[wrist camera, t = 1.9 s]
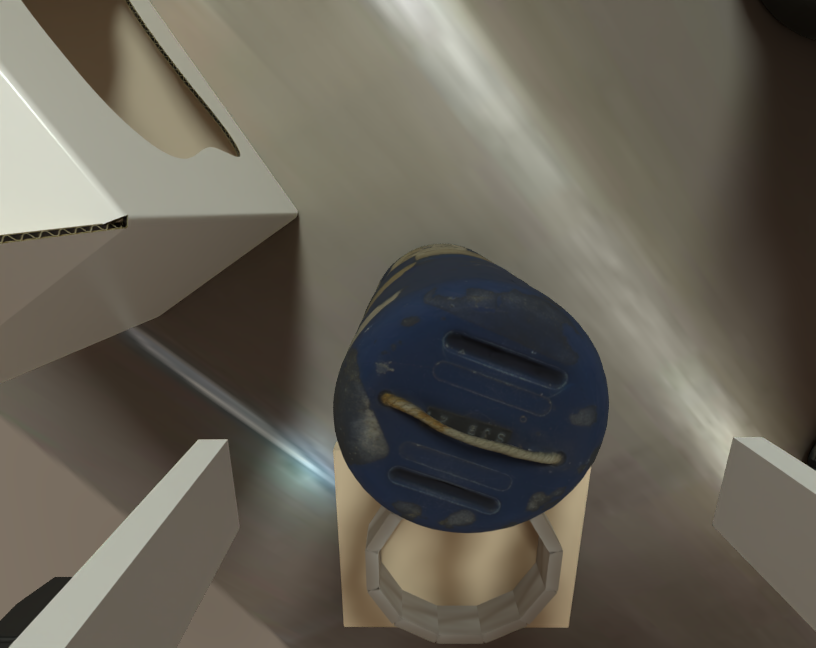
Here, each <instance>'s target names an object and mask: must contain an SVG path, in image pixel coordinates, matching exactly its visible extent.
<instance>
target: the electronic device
mask: <svg viewBox="0 0 816 648" xmlns="http://www.w3.org/2000/svg"><path fill="white" fill-rule="evenodd" d="M808 466H809V467H811V468H812V469H814V470H815V471H816V444H815V445H814V447H813V448H812V450H811V452H810V455H809V457H808Z"/></svg>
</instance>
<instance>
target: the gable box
mask: <svg viewBox="0 0 816 648" xmlns="http://www.w3.org/2000/svg"><path fill="white" fill-rule="evenodd" d="M297 213H298V211H297V209H296V208H295V206H294V205H293V203H292V202H291V201H290V199H289V198H288V196H287V195H286V194H285V192H284V191H283V189H282V188H281V187H280V185H279V184H278V182H277V181H276V179H275V178H274V177H273V175H272V174H271V172H270V171H269V170H268V168H267V167H266V165H265V164H264V162H263V161H262V160H261V158H260V157H259V155H258V154H257V153H256V151H255V150H254V148H253V147H252V146H251V144H250V143H249V141H248V140H247V138H246V137H245V136H244V134H243V133H242V131H241V130H240V129H239V127H238V126H237V124H236V123H235V121H234V120H233V119H232V117H231V116H230V114H229V113H228V112H227V110H226V109H225V107H224V106H223V105H222V103H221V102H220V100H219V99H218V97H217V96H216V95H215V93H214V92H213V90H212V89H211V88H210V86H209V85H208V83H207V82H206V80H205V79H204V78H203V76H202V75H201V73H200V72H199V71H198V69H197V68H196V66H195V65H194V63H193V62H192V61H191V59H190V58H189V56H188V55H187V54H186V52H185V51H184V49H183V48H182V47H181V45H180V44H179V42H178V41H177V39H176V38H175V37H174V35H173V34H172V32H171V31H170V30H169V28H168V27H167V25H166V24H165V22H164V21H163V20H162V18H161V17H160V15H159V14H158V13H157V11H156V10H155V8H154V7H153V6H152V4H151V3H150V1H149V0H0V384H1V383H3V382H6V381H8V380H10V379H13V378H15V377H17V376H20V375H22V374H24V373H27V372H29V371H31V370H34V369H36V368H39V367H41V366H43V365H46V364H48V363H50V362H53V361H55V360H57V359H60V358H62V357H64V356H67V355H69V354H72V353H74V352H76V351H79V350H81V349H83V348H86V347H88V346H90V345H93V344H95V343H97V342H100V341H102V340H105V339H107V338H109V337H112V336H114V335H116V334H119V333H121V332H123V331H126V330H128V329H130V328H133V327H135V326H138V325H140V324H142V323H145V322H147V321H149V320H152V319H154V318H156V317H159V316H160V315H162V314H163V313H164V312H166V311H167V310H169V309H170V308H171V307H173V306H174V305H175V304H177V303H178V302H180V301H181V300H182V299H184V298H185V297H187V296H188V295H189V294H191V293H192V292H194V291H195V290H196V289H198V288H199V287H200V286H202V285H203V284H205V283H206V282H207V281H209V280H210V279H212V278H213V277H214V276H216V275H217V274H218V273H220V272H221V271H223V270H224V269H225V268H227V267H228V266H230V265H231V264H232V263H234V262H235V261H237V260H238V259H239V258H241V257H242V256H243V255H245V254H246V253H248V252H249V251H250V250H252V249H253V248H255V247H256V246H257V245H259V244H260V243H262V242H263V241H264V240H266V239H267V238H268V237H270V236H271V235H273V234H274V233H275V232H277V231H278V230H280V229H281V228H282V227H284V226H285V225H287V224H288V223H289V222H291V221H292V220H293V219H295V218H296V217H297Z"/></svg>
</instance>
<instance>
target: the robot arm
mask: <svg viewBox="0 0 816 648" xmlns="http://www.w3.org/2000/svg"><path fill="white" fill-rule="evenodd" d="M762 2H763V4H764V5H765V6H766V7H767V9H768V10H769V11H770V12H771V13H772V14H773V15H774V17H775V18H776V19H778V20H779V21H780V22H781V23H782V24H784V25H785V26H786V27H788V28H789V29H791V30H793V31H794V32H796V33H798V34H800V35H803V36H805V37H808V38H811V39H814V40H816V0H762ZM712 526H713V527H714V528H715V529H716V530H717V531H718V532H719V533H720V534H721V535H722V536H723V537H724V538H725V539H726V540H727V541H728V542H729V543H730V544H731V545H732V546H733V547H734V548H735V549H736V550H737V551H738V552H739V553H740V554H741V555H742V556H743V557H744V558H745V559H746V561H747V562H748V563H749V564H750V565H751V566H752V567H753V568H754V569H755V570H756V571H757V572H758V573H759V574H760V575H761V576H762V577H763V578H764V579H765V580H766V581H767V582H768V583H769V584H770V585H771V586H772V587H773V588H774V589H775V590H776V591H777V592H778V593H779V594H780V595H781V596H782V597H783V599H784V600H785V601H786V602H787V603H788V604H789V605H790V606H791V607H792V608H793V609H794V610H795V611H796V612H797V613H798V614H799V615H800V616H801V617H802V618H803V619H804V620H805V621H806V622H807V623H808V624H809V625H810V626H811V627H812V628H813V629H814V630H815V631H816V471H815V470H814V469H812V468H811V467H809V466H807V465H806V464H804V463H803V462H801V461H800V460H798V459H796V458H795V457H793V456H792V455H790V454H789V453H787V452H785V451H784V450H782V449H781V448H779V447H777V446H776V445H774V444H773V443H771V442H770V441H768V440H766V439H765V438H763V437H733V441H732V445H731V449H730V453H729V457H728V461H727V465H726V469H725V473H724V478H723V482H722V486H721V490H720V494H719V498H718V502H717V506H716V510H715V515H714V519H713V523H712ZM239 529H240V523H239V516H238V509H237V501H236V494H235V487H234V480H233V473H232V465H231V458H230V451H229V444H228V439H198V440H197V441H196V443H195V444H194V445H193V446H192V447H191V448H190V449H189V450H188V451H187V452H186V453H185V455H184V456H183V457H182V458H181V459H180V460H179V461H178V462H177V463H176V464H175V466H174V467H173V468H172V469H171V470H170V471H169V472H168V473H167V474H166V475H165V477H164V478H163V479H162V480H161V481H160V482H159V483H158V484H157V485H156V486H155V487H154V489H153V490H152V491H151V492H150V493H149V494H148V495H147V496H146V497H145V498H144V500H143V501H142V502H141V503H140V504H139V505H138V506H137V507H136V508H135V509H134V511H133V512H132V513H131V514H130V515H129V516H128V517H127V518H126V519H125V520H124V522H123V523H122V524H121V525H120V526H119V527H118V528H117V529H116V530H115V531H114V533H113V534H112V535H111V536H110V537H109V538H108V539H107V540H106V541H105V542H104V543H103V545H102V546H101V547H100V548H99V549H98V550H97V551H96V552H95V553H94V554H93V555H92V557H91V558H90V559H89V560H88V561H87V562H86V563H85V564H84V565H83V566H82V568H81V569H80V570H79V571H78V572H77V573H76V574H75V575H74V576H73V577H55V578H53V579H52V580H50V581H49V582H47V583H46V584H44V585H43V586H42V587H40V588H39V589H37V590H36V591H34V592H33V593H32V594H30V595H29V596H27V597H26V598H25V599H23V600H22V601H20V602H19V603H18V604H16V605H15V607H13V608H12V609H11V610H10V612H8V614H6V616H5V617H4V618H3V619H2V620H1V621H0V648H177V646H178V644H179V642H180V641H181V639H182V637H183V635H184V633H185V631H186V629H187V627H188V625H189V623H190V622H191V620H192V617H193V616H194V614H195V612H196V610H197V608H198V606H199V605H200V603H201V601H202V599H203V597H204V595H205V593H206V591H207V589H208V587H209V586H210V584H211V582H212V580H213V578H214V576H215V574H216V572H217V570H218V568H219V567H220V565H221V563H222V561H223V559H224V557H225V555H226V553H227V551H228V549H229V548H230V546H231V544H232V542H233V540H234V538H235V536H236V534H237V532H238V530H239Z"/></svg>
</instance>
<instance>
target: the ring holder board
mask: <svg viewBox="0 0 816 648" xmlns="http://www.w3.org/2000/svg"><path fill="white" fill-rule="evenodd" d="M333 453H334V469H335V486H336V502H337V519H338V535H339V552H340V569H341V585H342V602H343V618H344V627H399V628H401V629H403V630H405V631H408V632H410V633H412V634H414V635H417V636H419V637H421V638H424V639H426V640H428V641H430V642H433V643H435V642H436V640H437V644H483V640H484V642H485V643H488V642H490V641H492V640H495V639H497V638H500V637H502V636H505V635H507V634H509V633H512V632H514V631H517V630H519V629H522V628H524V627H536V628H568V627H569V620H570V613H571V605H572V598H573V591H574V584H575V577H576V570H577V563H578V556H579V549H580V542H581V535H582V527H583V520H584V513H585V506H586V499H587V492H588V485H589V478H590V471H591V467H590V468H589V470H588V471H587V473H586V474H585V476H584V477H583V479H582V480H581V481H580V482H579V484H578V485H577V486H576V487H575V488H574V489H573V490H572V491H571V492H570V493H569V494H568V495H567V496H566V497H564V498H563V500H561V501H560V502H559V503H558V504H557V505H555V506H554V507H553V508H551V509H549V510H547V511H545V512H544V513H542V514H540V515H538V516H536V517H534V518H532V519H530V520H528V521H526V522H523V523H520V524H518V525H515V526H513V527H509V528H505V529H500V530H495V531H490V532H482V533H453V532H446V531H440V530H434V529H430V528H427V527H423V526H420V525H417V524H415V523H413V522H410V521H408V520H406V519H404V518H402V517H400V516H398V515H396V514H394V513H393V512H391V511H389V510H387V509H386V508H384V507H383V506H382V505H381V504H379V503H378V502H377V501H376V500H375V499H374V498H373V497H372V496H370V495H369V494H368V493H367V492H366V491H365V490H364V489H363V488H362V486H361V485H360V483H359V482H358V481H357V480H356V478H355V477H354V475H353V474H352V472H351V471H350V469H349V468H348V466H347V464H346V462H345V460H344V458H343V455H342V453H341V450H340V447H339V444H338V442H336V444H335V447H334V450H333Z"/></svg>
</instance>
